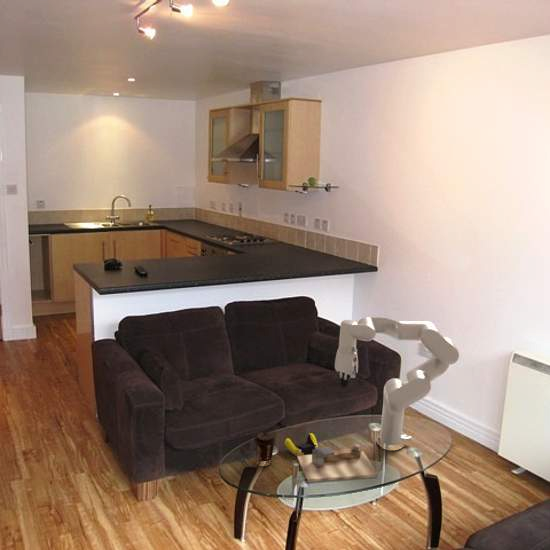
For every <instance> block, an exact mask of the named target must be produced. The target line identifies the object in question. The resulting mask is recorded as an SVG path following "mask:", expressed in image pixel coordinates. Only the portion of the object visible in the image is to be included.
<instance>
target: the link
mask: <svg viewBox="0 0 550 550" xmlns="http://www.w3.org/2000/svg"><path fill="white" fill-rule="evenodd" d="M333 451H334V452H335V456H330V457H325V458H324V462H331V461H338V460H345V459H352V458H354V459H358V458H360V457H361V451H362V449H361V447H360V448H359V449H358V450H357V451H356V450H354V448H353V446H352V447H350V448H344V449H339V450H333Z"/></svg>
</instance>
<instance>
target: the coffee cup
mask: <svg viewBox="0 0 550 550" xmlns="http://www.w3.org/2000/svg"><path fill="white" fill-rule="evenodd" d="M275 440H276V439H275V436H274V435H273V433H271V432H268V431H261V432H259V433H257V434H256V435H255V437H254V444H255V448H254V449H255V455H256V461H258V462H261V461H267V460H268V461H269V460H271V461H272V459H273V456H274V453H273V452H274V449H275V448H274V446H275Z"/></svg>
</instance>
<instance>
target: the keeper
mask: <svg viewBox="0 0 550 550" xmlns="http://www.w3.org/2000/svg"><path fill="white" fill-rule="evenodd" d="M334 451H335V450H334V449H332V447H331V446H328V445H327V446H324V447H318V448H317V449H312V454H311V455H312V463H313V464H314V465H315V467H316V468H321V467H323V464H324V458H325V457H330V456H335V452H334Z"/></svg>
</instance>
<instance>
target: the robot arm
mask: <svg viewBox="0 0 550 550" xmlns="http://www.w3.org/2000/svg"><path fill="white" fill-rule="evenodd" d="M339 327H340V329H339V340H338V341H339V342H338V349H337V350H336V355H335V360H334V368H335V371H336V372H337V373H338V374H339V378H340V388H343V389H344V388H347V387H348V386H349V379H350V378H352V379H354V378H356V374H358V371H359V357H358V349H357V340H359V341H363V342H370V341H372V340H374V339H375V337H376V334H383V335H387V336H389V337H391V338H393V339H394V340H396V341H401V342H404V341H409V342H411V341H414V342H420V343H421V345H423V346H424V347H425V348H426V349H427V350H428V351H429V352H430V353H431V354H432V356H431V357H429V359H427V360H425V361H423V362H422V363H421V364H419V365H417V366H415V367H413V368H411V369H410V370H409V371H407V373H406V374H405V382H406V383H404V382H403V380H401V379H399V378H396V377H393V378H390V379H389V380H387V381H386V383H385V384H384V387H383V400H382V401H383V404H382V414H381V422H380V423H381V424H380V433H379V434H380V435H379V437H380V441H381V442H382V443H385V444H388V445H398V444H399V443H400V442H403V441H405V440H411V441H412V436H407V434H403V426H404V415H405V409H407V408H409V407H410V406H412V405H413V404H415V403H417V402H420V401H421V400H422V399H424V398H425V397H426V396H428V394H429V393H430V392H431V389H432V384H431V383H432V381H434V380H435V379H438V378H439V377H441V375H443V374H444V373H446V371H447V370H448V368H449V367H450V365H451V366H452V365H454V364H455V363H457V362H458V360H459V357H460V353H459V350H458V348H457V346H456V344H455V343H454V341H453V340H452V339H451V338H450V337H447V336H443V335H442V334H441V333H440V332H439V331H438V330H439V329H438V328H437V326H436V325H435V324H434V323H432V322H431V321H428V320H427V321H423V320H422V321H421V320H420V321H417V320H415V321H414V320H413V321H412V320H410V321H409V320H396V319H391V318H387V317H379V316H377V317H376V316H366V317H362V318H360V319H359V320H358V321H355V320H353V319H344V320H342V321H341V322H340V326H339ZM405 442H406V441H405Z"/></svg>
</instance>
